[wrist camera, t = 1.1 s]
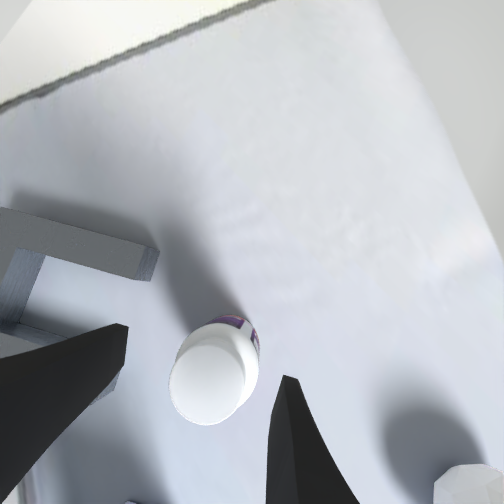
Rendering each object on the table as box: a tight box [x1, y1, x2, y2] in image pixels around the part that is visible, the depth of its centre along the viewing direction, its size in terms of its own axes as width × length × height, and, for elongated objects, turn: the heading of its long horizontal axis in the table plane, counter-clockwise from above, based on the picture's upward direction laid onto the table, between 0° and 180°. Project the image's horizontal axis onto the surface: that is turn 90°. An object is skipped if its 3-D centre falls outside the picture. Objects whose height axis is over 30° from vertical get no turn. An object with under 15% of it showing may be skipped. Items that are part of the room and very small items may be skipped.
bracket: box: [0, 207, 160, 405], centre depth 22 cm, size 13×14×3 cm
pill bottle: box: [169, 315, 259, 425], centre depth 18 cm, size 5×5×10 cm
